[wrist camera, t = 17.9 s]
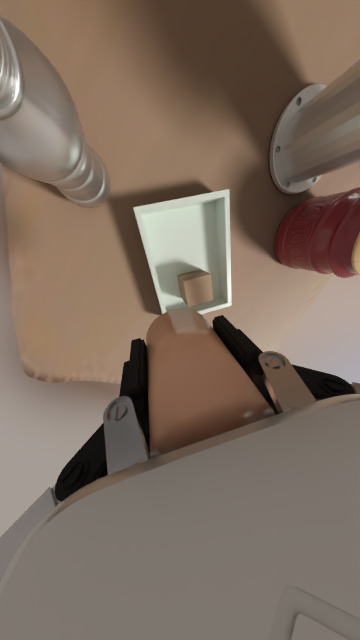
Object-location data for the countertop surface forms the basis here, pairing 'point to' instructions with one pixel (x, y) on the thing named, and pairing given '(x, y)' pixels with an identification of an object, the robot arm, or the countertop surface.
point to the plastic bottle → (44, 124)
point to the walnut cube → (195, 287)
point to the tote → (188, 246)
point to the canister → (322, 235)
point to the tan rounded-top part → (195, 384)
